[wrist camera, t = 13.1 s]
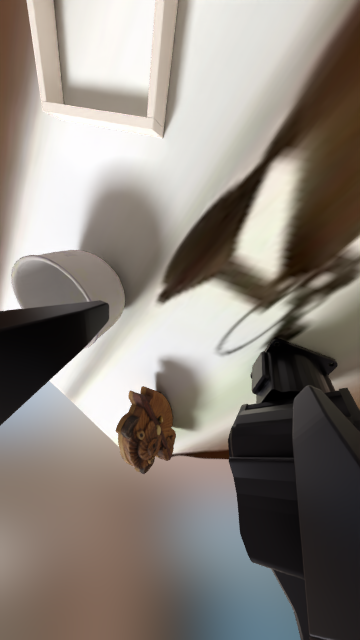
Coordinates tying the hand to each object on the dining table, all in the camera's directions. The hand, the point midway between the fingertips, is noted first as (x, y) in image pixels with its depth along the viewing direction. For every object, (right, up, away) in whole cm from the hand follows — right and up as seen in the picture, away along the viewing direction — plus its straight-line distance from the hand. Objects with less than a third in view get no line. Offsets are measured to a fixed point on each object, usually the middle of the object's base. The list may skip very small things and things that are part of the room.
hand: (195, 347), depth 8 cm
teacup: (-13, +5, +19) cm, 23 cm away
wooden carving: (-3, -14, +26) cm, 30 cm away
